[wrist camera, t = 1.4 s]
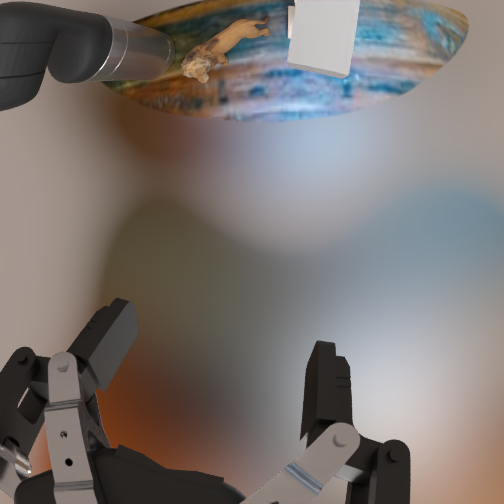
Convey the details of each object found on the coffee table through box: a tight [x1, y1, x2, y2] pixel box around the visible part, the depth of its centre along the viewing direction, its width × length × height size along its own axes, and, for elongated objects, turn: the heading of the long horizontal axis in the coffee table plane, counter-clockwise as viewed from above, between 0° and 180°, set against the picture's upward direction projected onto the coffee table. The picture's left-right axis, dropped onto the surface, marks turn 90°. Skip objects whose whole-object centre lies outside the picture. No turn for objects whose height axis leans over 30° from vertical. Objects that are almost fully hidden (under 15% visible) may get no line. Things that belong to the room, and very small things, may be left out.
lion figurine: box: [181, 15, 270, 83], centre depth 31 cm, size 15×5×9 cm, turn 136°
